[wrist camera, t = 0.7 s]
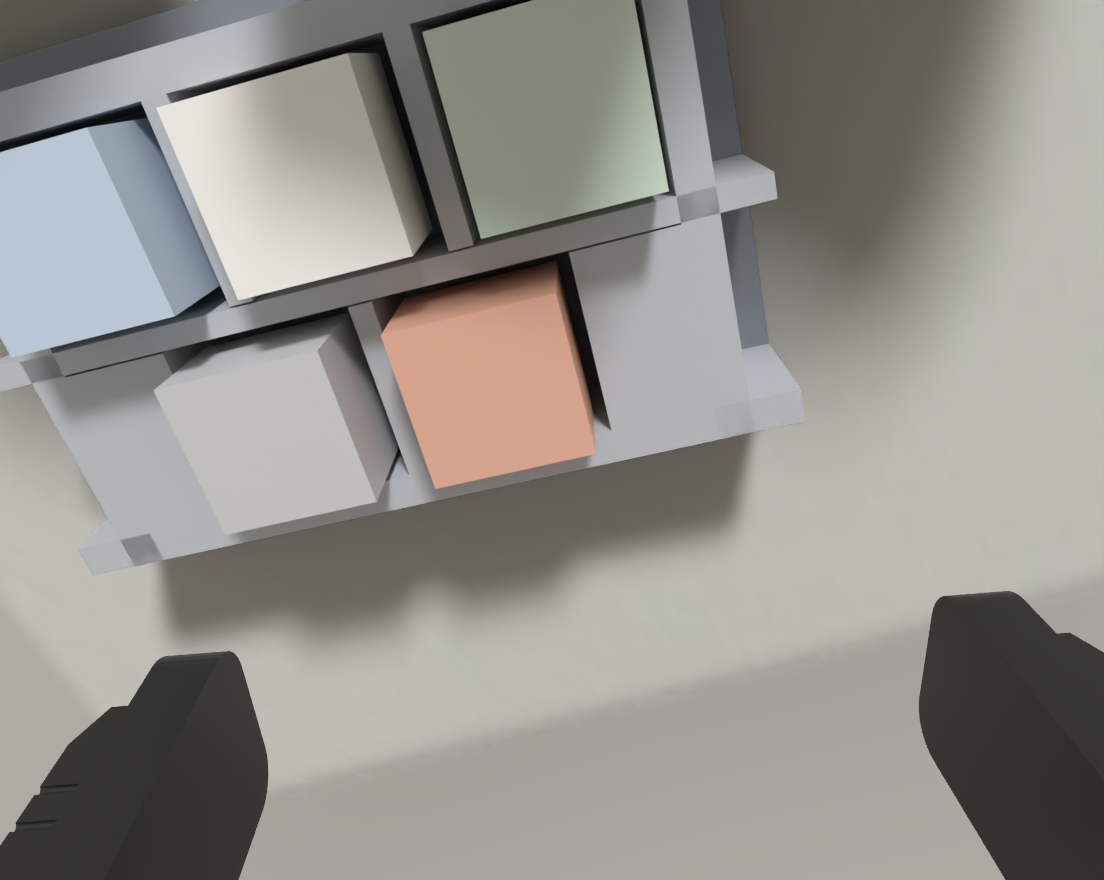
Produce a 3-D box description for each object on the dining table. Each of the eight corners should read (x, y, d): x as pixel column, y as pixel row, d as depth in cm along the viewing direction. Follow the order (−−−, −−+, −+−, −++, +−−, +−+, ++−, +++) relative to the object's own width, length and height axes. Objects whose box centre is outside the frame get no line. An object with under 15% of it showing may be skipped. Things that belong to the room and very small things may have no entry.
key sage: (618, -16, 18) (629, -28, 15) (653, 171, 19) (668, 191, 17) (442, 34, 18) (422, 32, 15) (491, 213, 20) (481, 238, 17)
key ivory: (379, 53, 18) (347, 53, 15) (433, 228, 20) (413, 256, 17) (214, 100, 19) (156, 107, 16) (281, 267, 20) (238, 300, 18)
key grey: (348, 311, 21) (317, 351, 18) (398, 447, 22) (376, 501, 20) (204, 347, 21) (153, 390, 19) (264, 478, 23) (225, 534, 20)
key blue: (154, 116, 19) (86, 127, 16) (225, 281, 20) (174, 316, 18) (1, 160, 19) (-91, 177, 17) (82, 318, 21) (11, 357, 18)
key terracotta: (556, 260, 20) (555, 292, 17) (591, 404, 22) (596, 453, 19) (404, 298, 21) (380, 335, 18) (450, 436, 22) (435, 489, 20)
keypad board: (693, -141, 19) (728, -191, 15) (770, 393, 25) (809, 456, 21) (-59, 83, 21) (-196, 90, 17) (174, 525, 27) (110, 604, 23)
